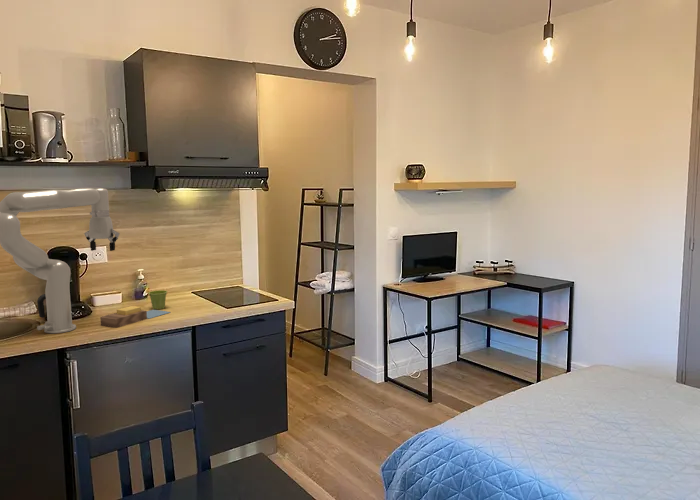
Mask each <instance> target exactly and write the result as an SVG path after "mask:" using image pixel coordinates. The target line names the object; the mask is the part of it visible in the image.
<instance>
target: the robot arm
mask: <svg viewBox="0 0 700 500" xmlns="http://www.w3.org/2000/svg"><path fill="white" fill-rule="evenodd" d="M87 206H90V207H91V211H90V212H89V215H90V216H91V217H90V218H89V225H88V226H89V227H88V230H87V231H85V232H84V233H83V234H84V236H85V238H86V240H87V241H88V242H89V247H90V251H91V252H92V251H96V250H97V244H96V243H97V242H96V239H98V240H99V239H100V240H102V239H103V240H106V239H107V240H108V241H109V251H110V252H114V251H116V242H117V240H118V239H119V236H120V232H119V231H116V230H115V229H114V226H113V221H112V217H110V202H109V191H108V189H107V188H102V187H101V188H100V187H99V188H92V187H79V188H75V189H45V190H44V189H43V190H34V191H19V192H18V191H15V192H11V193H8V194H7V195H6V196H5V197H3V199H1V201H0V246H1V248H2V249H3V250H4V251H5V252H6V253H8V254H10V256H12V259H13V261H14V263H15V264H16V265H17V266H18V267H19V268H21V269H23V270H24V271H25V272H28V273H30V274H31V275H33V276H35V277H36V278H38V279H40V280H44V281H46V284H45V291H44V292H45V293H44V294H45V295H46V299H45V303H46V316H47V318H46V319H47V321H45V323H43V324H41V325H40V324H39V325H37V327H36V330H37V331H41V330H44V333H47V334H62V333H67V332H71V331H74V330H76V329H77V325H76V324H75V323H73V319H72V305H71V304H72V303H71V302H72V301H71V293H70V292H71V291H70V290H71V289H70V285H71V284H70V281H71V275H72V273H71V268H70V266H69V265H68V263H66V262H65V261H62V260H60V259H52V258H49V255H48V254H47V252H46V251H45V250H44V249H42V248H41V247H39V246H37V245H36V244H35V243H32V242H31V241H30V240H28V239H27V238H26V237H25V236H23V235H22V232H21V222H20V219H19V218H18V217H17V216H18V215H19V213H30V212H31V213H33V212H39V211H47V210H48V211H49V210H60V209H68V208H75V207H87Z"/></svg>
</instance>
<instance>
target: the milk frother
mask: <svg viewBox="0 0 700 500" xmlns="http://www.w3.org/2000/svg"><path fill="white" fill-rule="evenodd" d="M45 301H46V295H45V293H43V294H41V295H39V296H38V298H37V302H36V303H37V310H38V314H39V318H41V319H43V318H45V317H46V313H45V312H46V311H45V303H44V302H45Z"/></svg>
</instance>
